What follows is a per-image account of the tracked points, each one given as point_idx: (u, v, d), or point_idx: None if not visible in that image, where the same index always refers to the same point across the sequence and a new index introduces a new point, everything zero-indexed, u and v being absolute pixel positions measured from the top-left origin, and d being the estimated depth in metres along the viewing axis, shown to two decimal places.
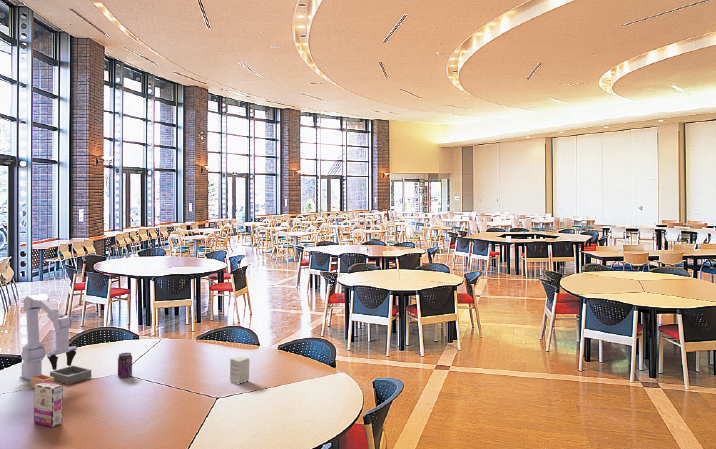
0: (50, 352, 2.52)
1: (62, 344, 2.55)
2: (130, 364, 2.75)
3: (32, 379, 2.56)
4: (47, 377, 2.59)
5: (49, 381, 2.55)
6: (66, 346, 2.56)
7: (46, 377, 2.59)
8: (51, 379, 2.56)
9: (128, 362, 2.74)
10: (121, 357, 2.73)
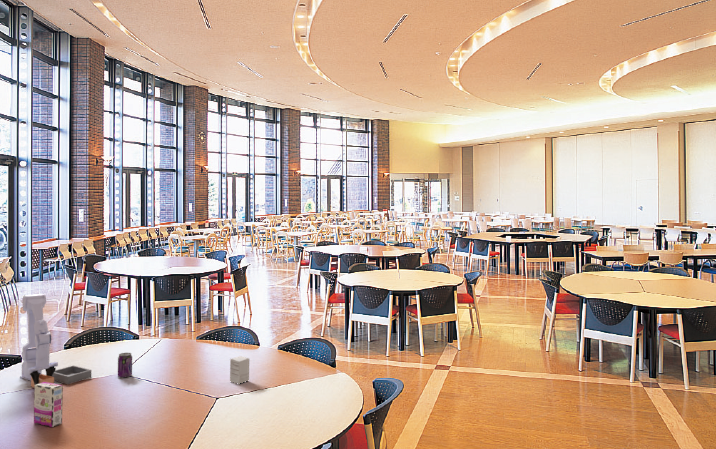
0: (30, 369, 2.51)
1: (43, 360, 2.54)
2: (130, 364, 2.75)
3: (32, 379, 2.56)
4: (47, 377, 2.59)
5: (49, 381, 2.55)
6: (47, 362, 2.56)
7: (46, 377, 2.59)
8: (51, 379, 2.56)
9: (128, 362, 2.74)
10: (121, 357, 2.73)
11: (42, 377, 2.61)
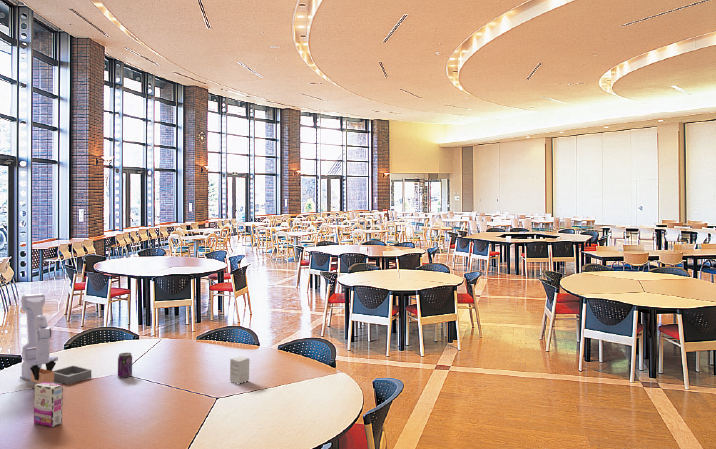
0: (30, 363, 2.51)
1: (43, 355, 2.54)
2: (130, 364, 2.75)
3: (32, 373, 2.56)
4: (47, 371, 2.59)
5: (49, 375, 2.55)
6: (47, 357, 2.56)
7: (46, 371, 2.59)
8: (51, 373, 2.56)
9: (128, 362, 2.74)
10: (121, 357, 2.73)
11: (42, 371, 2.60)
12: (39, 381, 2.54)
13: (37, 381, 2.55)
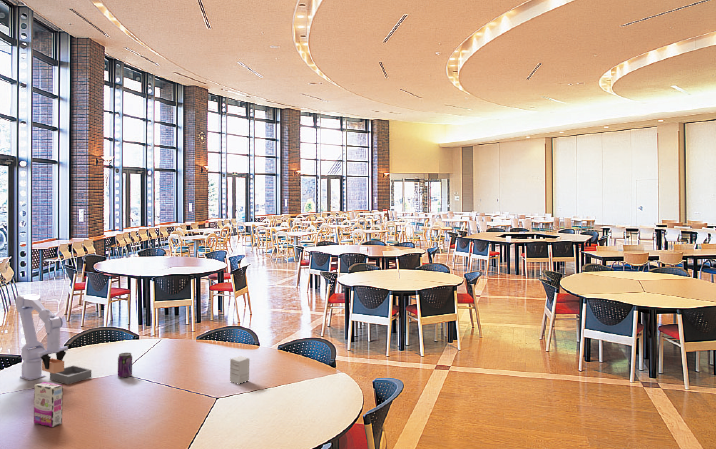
0: (41, 352, 2.56)
1: (53, 344, 2.59)
2: (130, 364, 2.75)
3: None
4: (57, 361, 2.63)
5: (59, 364, 2.60)
6: (57, 346, 2.60)
7: (56, 361, 2.63)
8: (61, 363, 2.60)
9: (128, 362, 2.74)
10: (121, 357, 2.73)
11: (52, 361, 2.65)
12: (49, 370, 2.58)
13: (48, 370, 2.59)
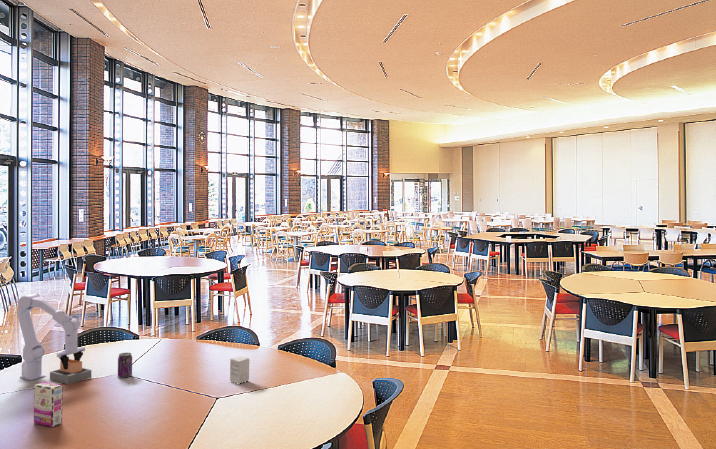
0: (60, 353, 2.65)
1: (71, 345, 2.68)
2: (130, 364, 2.75)
3: (61, 363, 2.70)
4: (75, 361, 2.72)
5: (78, 365, 2.68)
6: (75, 347, 2.69)
7: (74, 361, 2.72)
8: (79, 363, 2.69)
9: (128, 362, 2.74)
10: (121, 357, 2.73)
11: (70, 362, 2.74)
12: (68, 370, 2.67)
13: (66, 370, 2.68)
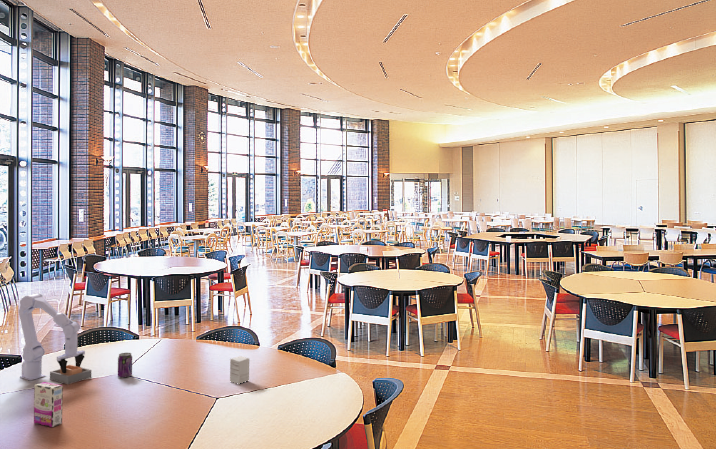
0: (60, 356, 2.65)
1: (71, 348, 2.68)
2: (130, 364, 2.75)
3: None
4: (75, 367, 2.72)
5: (77, 371, 2.69)
6: (75, 350, 2.69)
7: (74, 367, 2.72)
8: (79, 369, 2.69)
9: (128, 362, 2.74)
10: (121, 357, 2.73)
11: (70, 368, 2.74)
12: None
13: None
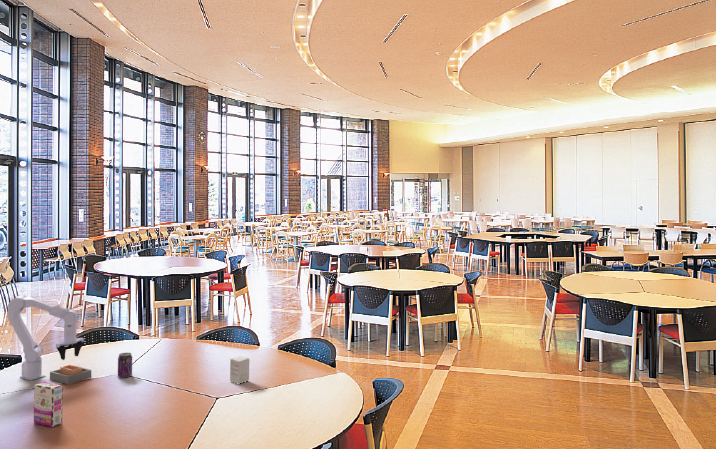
0: (59, 343, 2.70)
1: (70, 335, 2.73)
2: (130, 364, 2.75)
3: (61, 369, 2.70)
4: (75, 367, 2.72)
5: (77, 371, 2.69)
6: (74, 337, 2.74)
7: (74, 367, 2.72)
8: (79, 369, 2.69)
9: (128, 362, 2.74)
10: (121, 357, 2.73)
11: (70, 368, 2.74)
12: None
13: None
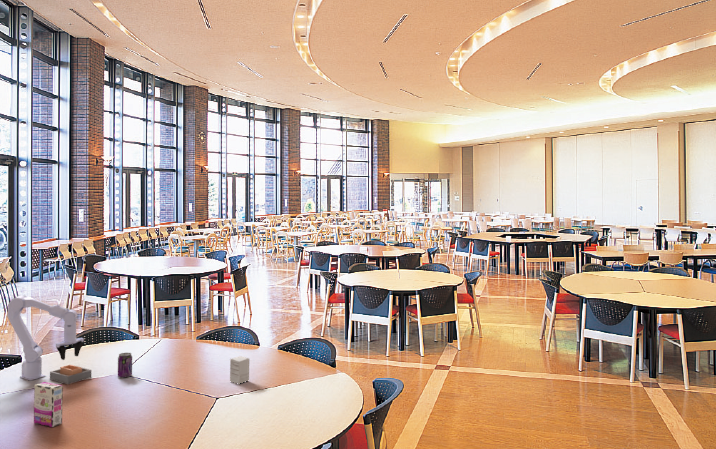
0: (59, 343, 2.70)
1: (70, 335, 2.73)
2: (130, 364, 2.75)
3: (61, 369, 2.70)
4: (75, 367, 2.72)
5: (77, 371, 2.69)
6: (74, 337, 2.74)
7: (74, 367, 2.72)
8: (79, 369, 2.69)
9: (128, 362, 2.74)
10: (121, 357, 2.73)
11: (70, 368, 2.74)
12: None
13: None
